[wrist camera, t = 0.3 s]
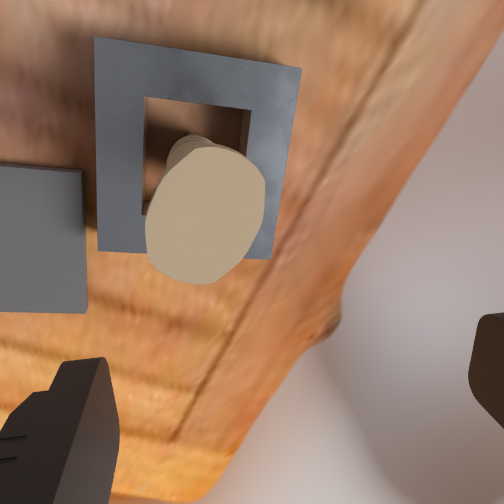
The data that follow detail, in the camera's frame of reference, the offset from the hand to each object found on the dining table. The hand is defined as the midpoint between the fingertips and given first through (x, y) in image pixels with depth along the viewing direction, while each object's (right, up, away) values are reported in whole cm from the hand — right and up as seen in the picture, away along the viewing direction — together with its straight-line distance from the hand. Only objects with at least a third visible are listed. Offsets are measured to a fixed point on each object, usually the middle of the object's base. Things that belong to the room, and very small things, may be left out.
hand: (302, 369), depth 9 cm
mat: (-20, +4, +23) cm, 31 cm away
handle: (-6, +10, +23) cm, 26 cm away
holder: (-6, +10, +23) cm, 25 cm away
